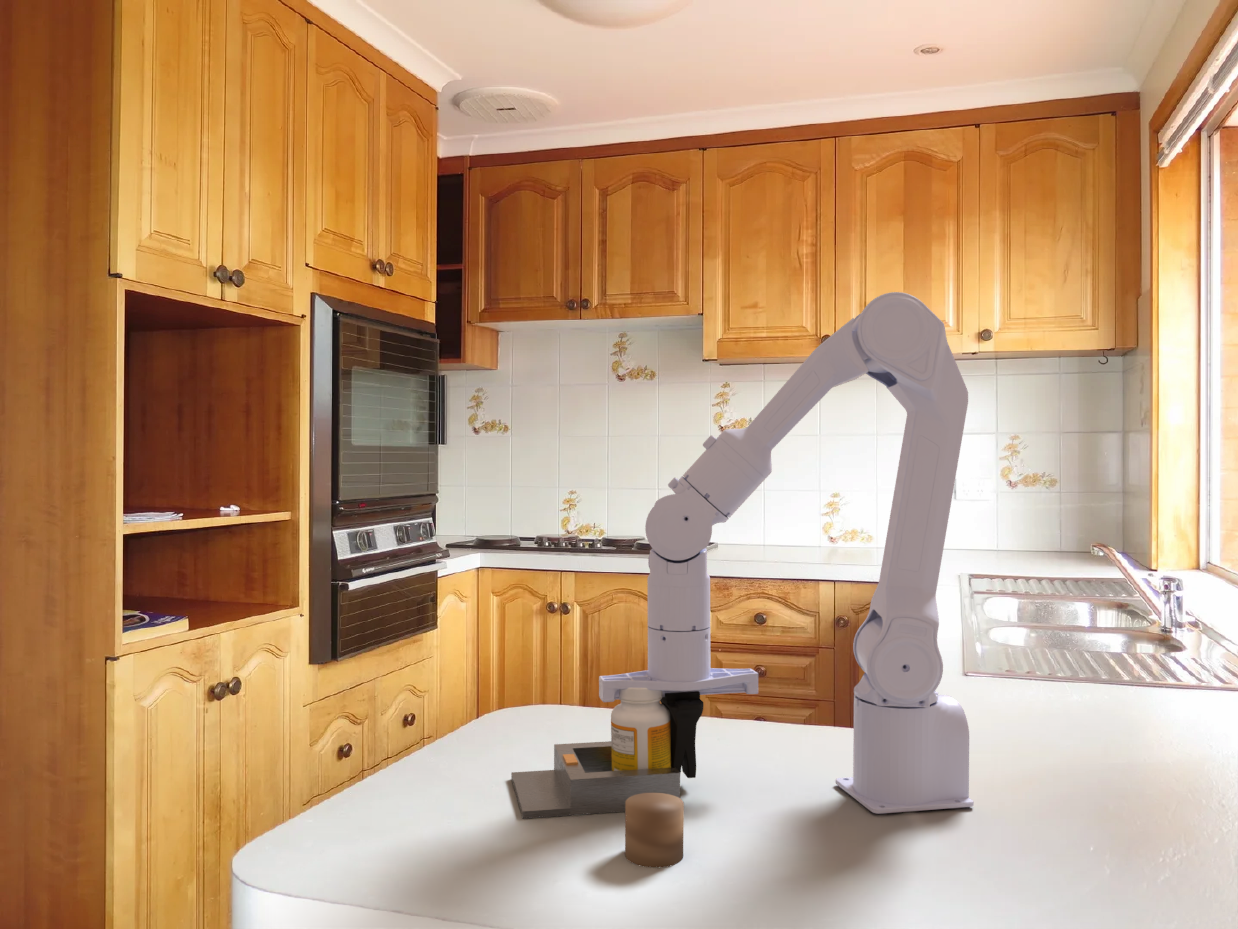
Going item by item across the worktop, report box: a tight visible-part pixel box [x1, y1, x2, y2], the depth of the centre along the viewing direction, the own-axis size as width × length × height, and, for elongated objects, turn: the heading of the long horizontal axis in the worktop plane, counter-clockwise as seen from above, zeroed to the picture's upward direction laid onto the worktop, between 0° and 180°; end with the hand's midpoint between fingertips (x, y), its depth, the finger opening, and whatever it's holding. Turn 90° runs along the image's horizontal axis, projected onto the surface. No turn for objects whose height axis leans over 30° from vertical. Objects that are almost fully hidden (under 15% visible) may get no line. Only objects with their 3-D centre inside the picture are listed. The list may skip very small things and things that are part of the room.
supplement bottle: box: [610, 687, 671, 771], centre depth 87 cm, size 5×5×10 cm
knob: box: [624, 793, 685, 869], centre depth 72 cm, size 4×4×4 cm
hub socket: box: [511, 740, 681, 819], centre depth 86 cm, size 14×10×3 cm
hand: (679, 775), depth 87 cm, fingers closed, pressing on supplement bottle
